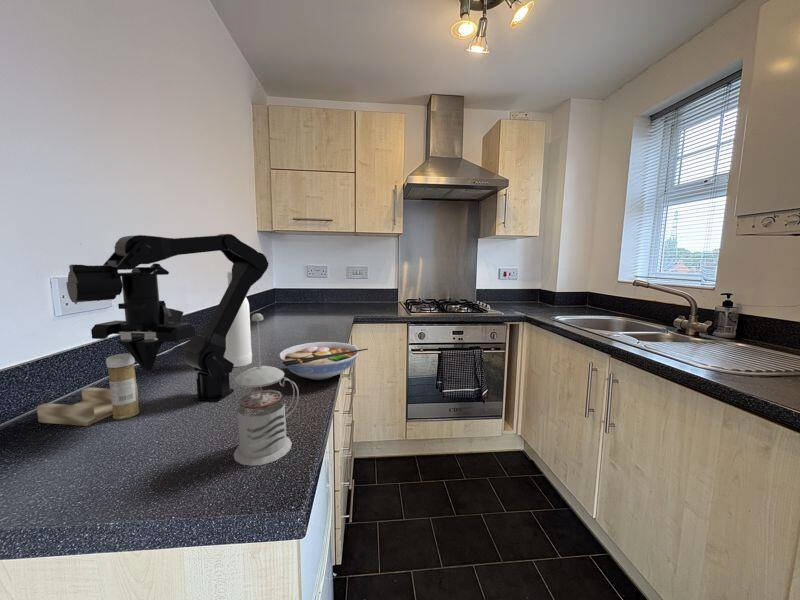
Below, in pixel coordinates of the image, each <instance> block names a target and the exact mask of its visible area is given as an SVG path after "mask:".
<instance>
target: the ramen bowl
mask: <svg viewBox="0 0 800 600" xmlns="http://www.w3.org/2000/svg"><path fill="white" fill-rule="evenodd" d="M367 350H369V348H362V349H359V348H358V347H357V346H356V345H355V344H354V345H353V344H350V343H346V342H338V341H317V342H307V343H302V344H296V345H293V346H290V347H287V348H285V349H283V350H282V351H281V352H280V353H278V355H279V358H280V360H281V362H282V365H284V367H285V368H287V369H288V370H289V372H290V373H293V374H295V375H297V376H299V377H300V378H301V377H302V378H306V379H310V380H315V381H321V380H322V381H324V380H327V379H330V378H332V377H334V376H335V377H336V376H337V375H340V374H342V373H343V372H345V371H346V370H348V369H349V368H350V367H351V366H352V365H353V364H354V362H355V361H356V360H357V357H358V355H359V352H361V351H363V352H364V351H367Z"/></svg>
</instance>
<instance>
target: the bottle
mask: <svg viewBox="0 0 800 600" xmlns="http://www.w3.org/2000/svg"><path fill="white" fill-rule="evenodd" d="M226 277H227V285H228V286H229V284H230V282H231V280H232V271H228V272H227V275H226ZM228 286H227V287H228ZM250 317H251V313H250V303H249V300H248V298H247V296H246V297H245V299H244V301H243V303H242V305H241V307H240V309H239V311H238V313H237V315H236V317H235V319H234V321H233V323H232V325H231V327H230V329H229V331H228V333H227V336H226V351H225V354H224V358H226V359H227V360H229V361H230V362H232V363H233V364H234V366H233V368H240V367H241V368H242V367H246V366H249V365H250V364H251V363H252V362H253V352H252V335H251V334H252V333H251V318H250Z"/></svg>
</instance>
